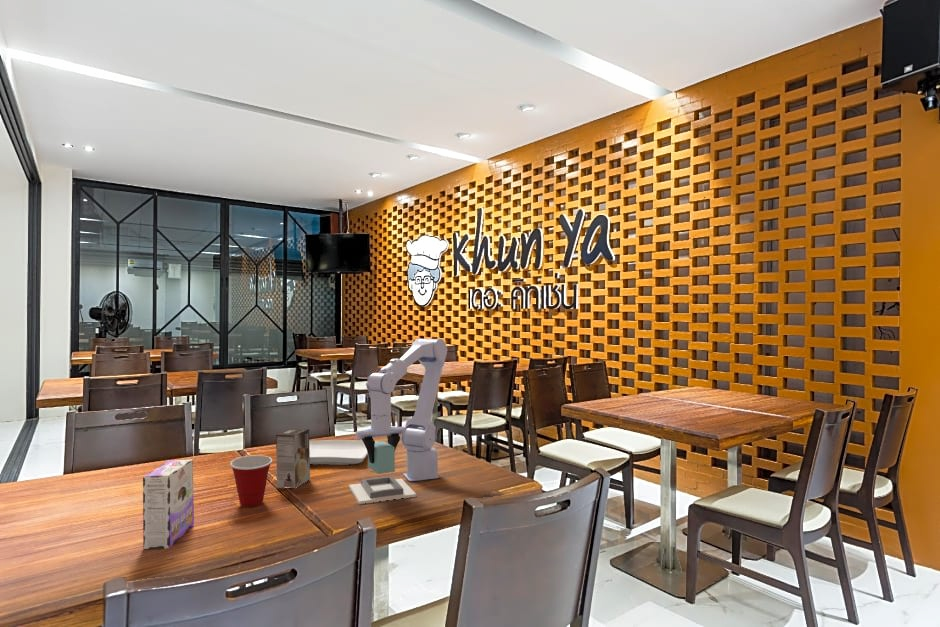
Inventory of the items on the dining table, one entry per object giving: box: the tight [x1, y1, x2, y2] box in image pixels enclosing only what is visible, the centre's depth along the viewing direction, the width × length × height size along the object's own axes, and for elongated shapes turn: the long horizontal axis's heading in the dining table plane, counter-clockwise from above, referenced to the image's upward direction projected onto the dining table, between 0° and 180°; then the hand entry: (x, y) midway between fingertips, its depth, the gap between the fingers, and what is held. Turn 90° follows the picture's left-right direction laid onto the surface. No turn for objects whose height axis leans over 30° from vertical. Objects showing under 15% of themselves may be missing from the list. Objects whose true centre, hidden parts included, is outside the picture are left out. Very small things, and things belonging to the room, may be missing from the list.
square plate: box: [309, 439, 378, 466], centre depth 203 cm, size 27×27×4 cm
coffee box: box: [275, 428, 311, 489], centre depth 171 cm, size 9×6×16 cm
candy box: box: [142, 458, 195, 550], centre depth 131 cm, size 14×6×16 cm, turn 5°
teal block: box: [367, 440, 396, 475], centre depth 163 cm, size 9×5×7 cm, turn 28°
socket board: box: [348, 475, 417, 505], centre depth 163 cm, size 16×16×2 cm
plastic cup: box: [229, 454, 273, 508], centre depth 154 cm, size 11×11×12 cm
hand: (381, 461), depth 163 cm, fingers closed on teal block, 5 cm apart
